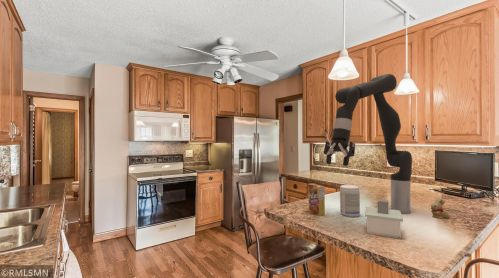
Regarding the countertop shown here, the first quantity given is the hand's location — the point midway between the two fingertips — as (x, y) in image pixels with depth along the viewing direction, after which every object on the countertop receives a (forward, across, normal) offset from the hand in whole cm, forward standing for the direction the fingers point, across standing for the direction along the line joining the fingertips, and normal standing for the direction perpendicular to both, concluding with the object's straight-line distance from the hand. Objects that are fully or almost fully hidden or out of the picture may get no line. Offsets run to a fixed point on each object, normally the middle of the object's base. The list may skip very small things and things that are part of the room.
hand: (336, 164), depth 109 cm
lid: (+17, -14, -18) cm, 28 cm away
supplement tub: (+22, +8, -29) cm, 37 cm away
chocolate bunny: (+14, -20, -62) cm, 66 cm away
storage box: (+24, -14, -20) cm, 34 cm away
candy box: (+25, +20, -17) cm, 36 cm away
